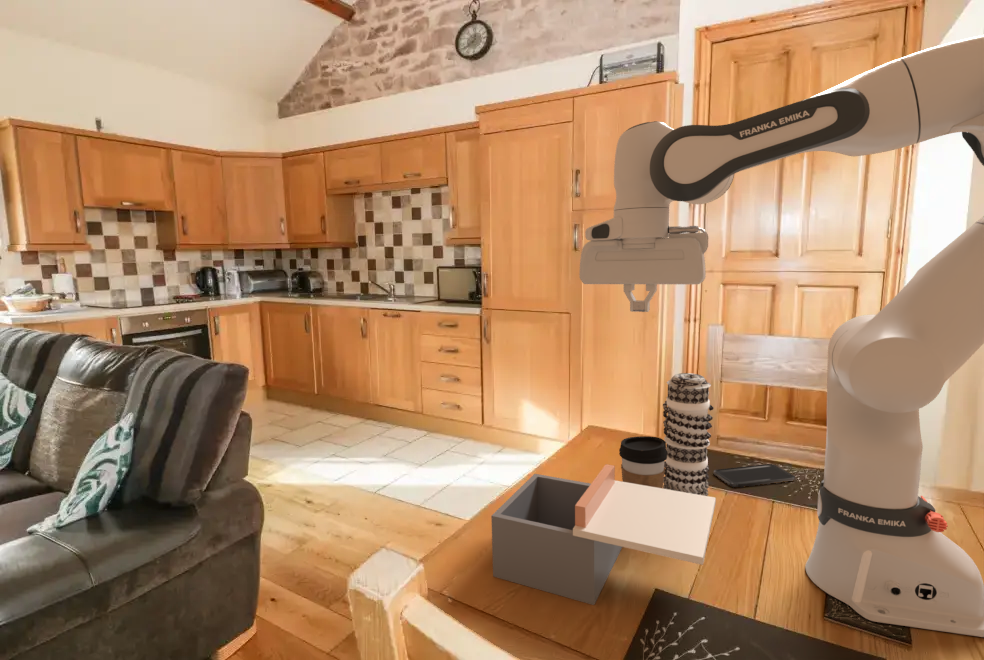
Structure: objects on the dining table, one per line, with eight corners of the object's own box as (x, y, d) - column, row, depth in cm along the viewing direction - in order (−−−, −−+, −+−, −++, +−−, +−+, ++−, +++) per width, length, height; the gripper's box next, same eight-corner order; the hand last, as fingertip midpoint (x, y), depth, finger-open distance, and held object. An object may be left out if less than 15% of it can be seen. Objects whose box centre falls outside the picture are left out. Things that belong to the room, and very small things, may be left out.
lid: (715, 503, 82) (716, 479, 82) (702, 565, 66) (703, 535, 66) (607, 484, 90) (607, 462, 89) (572, 535, 74) (572, 508, 74)
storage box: (623, 545, 90) (623, 489, 88) (594, 605, 75) (594, 538, 73) (535, 525, 97) (534, 473, 96) (493, 576, 82) (491, 515, 81)
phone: (711, 470, 117) (772, 463, 120) (711, 474, 117) (772, 468, 120) (733, 485, 110) (798, 477, 112) (733, 490, 110) (797, 482, 112)
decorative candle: (673, 483, 113) (676, 368, 109) (717, 496, 106) (722, 374, 103) (652, 498, 106) (654, 376, 103) (697, 513, 100) (701, 383, 96)
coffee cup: (668, 532, 94) (670, 450, 91) (619, 528, 95) (619, 448, 93) (663, 509, 102) (664, 434, 100) (618, 506, 103) (618, 432, 101)
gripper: (710, 225, 85) (707, 311, 87) (587, 231, 95) (587, 308, 97) (706, 224, 80) (703, 315, 82) (576, 230, 89) (576, 311, 91)
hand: (639, 311), depth 89 cm, fingers closed
